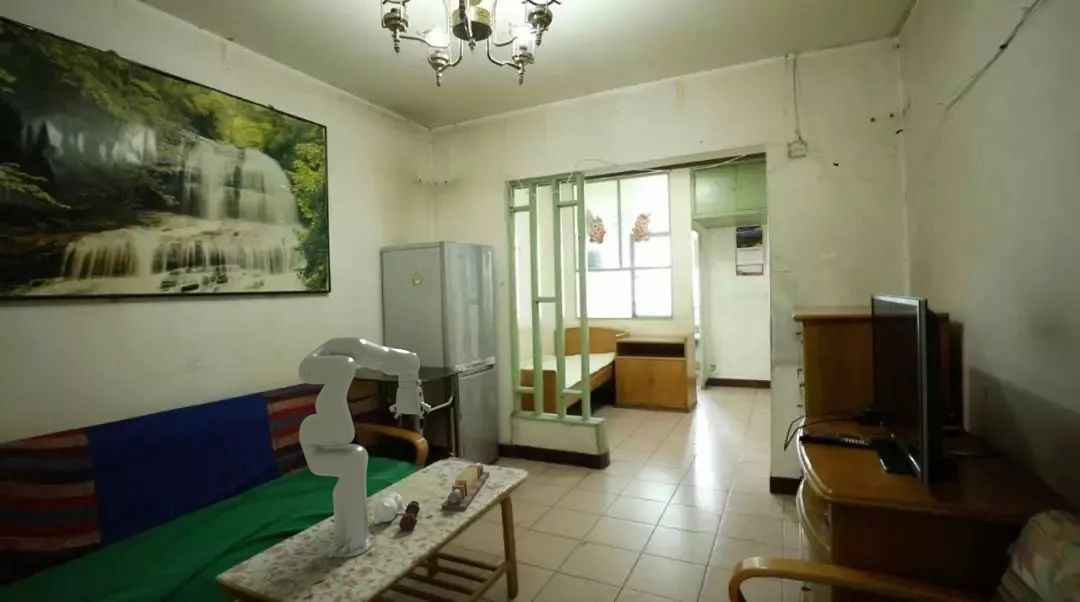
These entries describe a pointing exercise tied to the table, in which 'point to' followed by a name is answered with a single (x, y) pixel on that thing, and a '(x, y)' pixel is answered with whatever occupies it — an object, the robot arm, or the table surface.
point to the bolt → (410, 516)
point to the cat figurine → (388, 508)
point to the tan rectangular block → (467, 478)
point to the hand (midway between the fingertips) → (410, 428)
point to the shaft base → (458, 497)
